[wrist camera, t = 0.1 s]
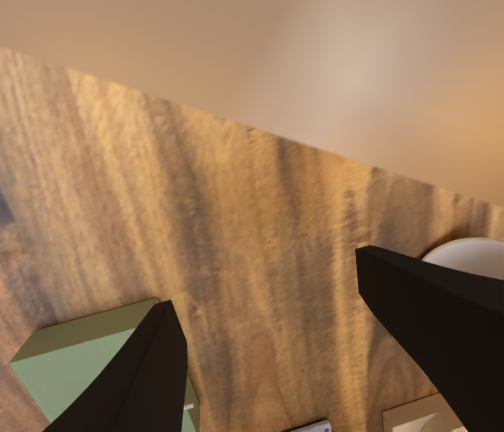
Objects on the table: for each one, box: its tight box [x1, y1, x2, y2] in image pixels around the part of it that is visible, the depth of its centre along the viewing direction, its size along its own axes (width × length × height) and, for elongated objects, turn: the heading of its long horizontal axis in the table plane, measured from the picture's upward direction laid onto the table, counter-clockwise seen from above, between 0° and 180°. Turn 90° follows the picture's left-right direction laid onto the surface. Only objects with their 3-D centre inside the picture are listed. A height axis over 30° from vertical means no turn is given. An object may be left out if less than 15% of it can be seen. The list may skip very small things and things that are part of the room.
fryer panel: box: [9, 297, 200, 432], centre depth 21 cm, size 12×10×3 cm
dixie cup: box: [422, 237, 504, 280], centre depth 23 cm, size 8×8×11 cm
